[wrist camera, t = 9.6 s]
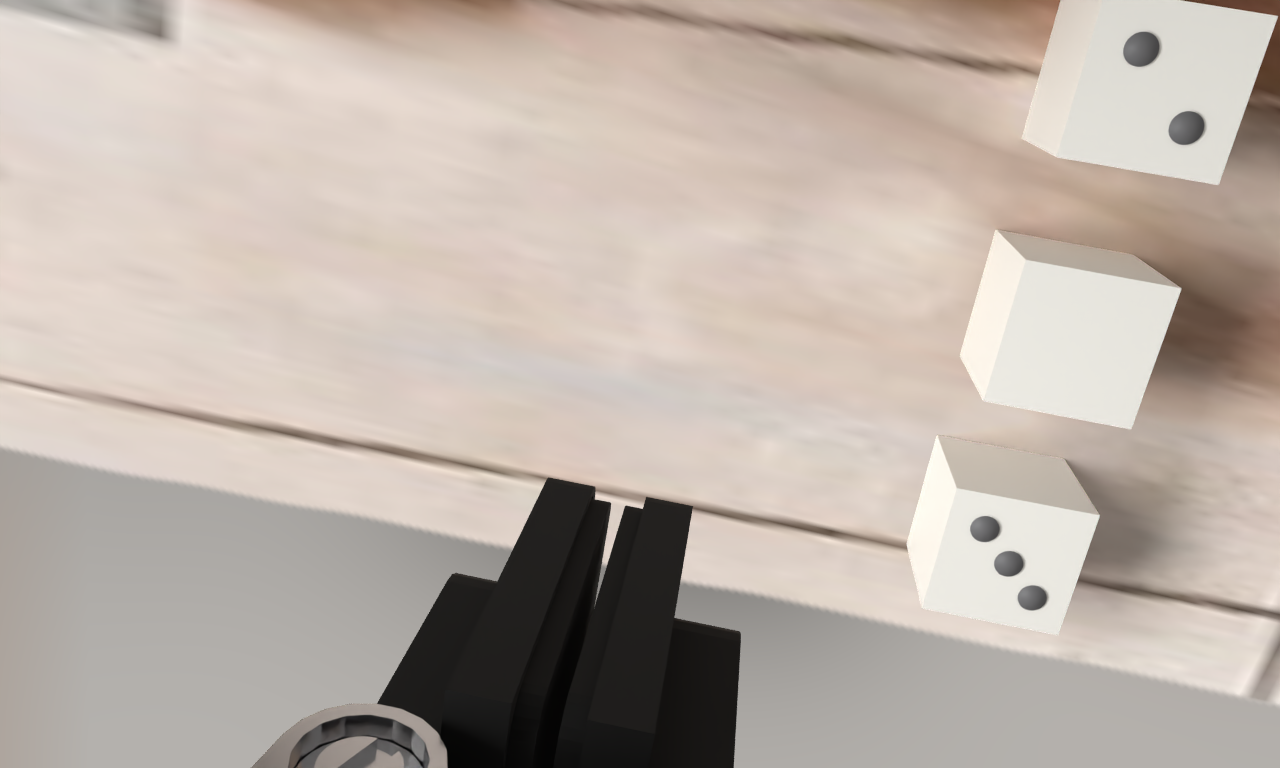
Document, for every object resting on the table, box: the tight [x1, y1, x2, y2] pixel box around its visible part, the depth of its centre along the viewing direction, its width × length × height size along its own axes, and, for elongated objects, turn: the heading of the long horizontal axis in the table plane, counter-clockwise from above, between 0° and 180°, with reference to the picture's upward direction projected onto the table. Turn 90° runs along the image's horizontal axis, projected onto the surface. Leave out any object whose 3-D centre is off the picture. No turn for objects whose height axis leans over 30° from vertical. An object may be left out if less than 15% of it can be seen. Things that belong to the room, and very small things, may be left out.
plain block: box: [960, 229, 1182, 429], centre depth 44 cm, size 6×6×6 cm
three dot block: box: [907, 435, 1100, 635], centre depth 48 cm, size 6×6×6 cm
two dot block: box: [1022, 0, 1278, 185], centre depth 41 cm, size 6×6×6 cm
